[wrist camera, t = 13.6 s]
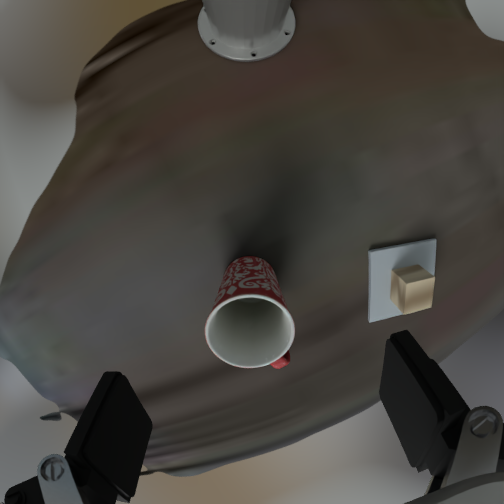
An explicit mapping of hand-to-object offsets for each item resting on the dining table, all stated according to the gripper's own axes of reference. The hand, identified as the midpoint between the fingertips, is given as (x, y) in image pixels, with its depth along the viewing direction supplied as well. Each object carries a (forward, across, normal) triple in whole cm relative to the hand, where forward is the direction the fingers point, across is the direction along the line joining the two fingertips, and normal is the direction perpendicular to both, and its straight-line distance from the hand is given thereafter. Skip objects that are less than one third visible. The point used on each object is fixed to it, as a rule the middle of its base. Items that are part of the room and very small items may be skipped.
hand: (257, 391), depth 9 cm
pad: (+30, -22, +14) cm, 40 cm away
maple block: (+30, -22, +14) cm, 39 cm away
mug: (+31, +1, +11) cm, 32 cm away
